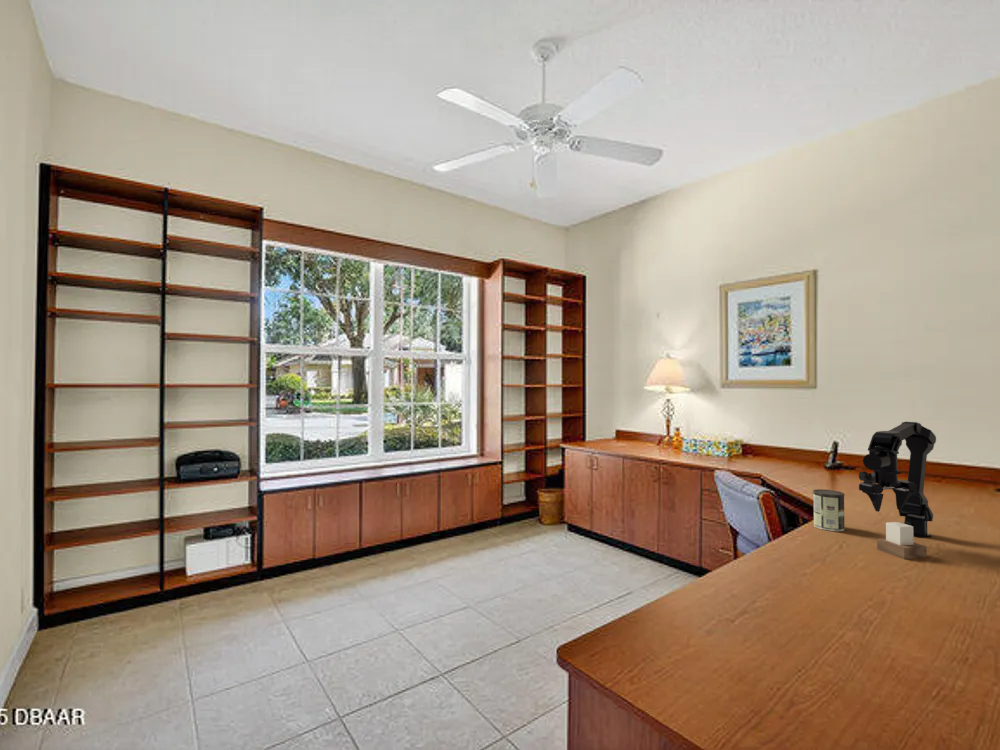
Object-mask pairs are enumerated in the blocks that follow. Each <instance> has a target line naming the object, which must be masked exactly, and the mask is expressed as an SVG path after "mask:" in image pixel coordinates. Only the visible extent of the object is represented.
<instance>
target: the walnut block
mask: <svg viewBox="0 0 1000 750" xmlns="http://www.w3.org/2000/svg"><path fill="white" fill-rule="evenodd" d="M876 544H877V547H876V549H877V551H879V552H883V553H884V554H885V553H886V554H889V555H891V556H894V557H896V558H900V559H903V560H912V559H922V558H923V559H924V558H927V546H926V545H924V544H920V543H918V542H915V541H913V545H898V544H896V543H893V542H890V541H887V540H886V537H885V538H877V539H876Z"/></svg>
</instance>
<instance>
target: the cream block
mask: <svg viewBox="0 0 1000 750" xmlns="http://www.w3.org/2000/svg"><path fill="white" fill-rule="evenodd" d="M885 538H886V540H887V541H890V542H893V543H896V544H898V545H913V542H914V536H913V526H910V525H907V524H904V523H903V522H900V521H894V522H893V521H891V522H890V521H889V522H888V521H887V522H885Z"/></svg>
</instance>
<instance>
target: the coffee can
mask: <svg viewBox="0 0 1000 750" xmlns="http://www.w3.org/2000/svg"><path fill="white" fill-rule="evenodd" d="M812 493H813V495H812V496H813V527H815V528H817V529H820V530H822V529H823V531H827V530H828V531H829V532H845V530H846V529H845V525H846V524H845V493H844V492H842V491H839V490H831V489H822V488H819V489H813V490H812ZM828 531H827V532H828Z"/></svg>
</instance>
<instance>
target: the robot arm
mask: <svg viewBox="0 0 1000 750" xmlns="http://www.w3.org/2000/svg"><path fill="white" fill-rule="evenodd" d="M903 441H905V446H906V448H907V449H908V451H909V454H910V455H909V463H908V474H907V480H903V479H899V478H898V475H901V474H902V471H901V470H898V469H899V467H898V455H899V454H900V452H899V449H900V447H902V445H903ZM936 442H937V437H936V435H935V433H934V432H933V431H932V430H931V429H929V428H927V427H925V426H923V425H922V424H921V423H920V422H917V421H904V422H901V423H900V424H899V425H896V426H894V427H893V428H892V429H890V430H879V431H878V430H877V431H876V432H874V434H872V436H871V440H870V442H869V445H868V448H867V451H868V454H865V455H864V456H863V459H862V463H863V466H865V468H866V469H868V470H870V471H873V472H870V473H868V471H866V470H865V471H859V472H858V478H859V480H860V481H863V482H860V483H859V484H858V490H859V491H861V492H862V493H864V494H866V495H867V496H868V498H869V499H870V501H871V504H872V505H873V506H872V507H873V508H874V511H875V512H880V510H881V507H882V503H883V498H884V495H885V494H884V493H883V492H884V491H885V490H892V491H893V493H894V495H895V504H896V508H897V510H898V514H899V516H900V517H903V518H904V521H903V522H904V524H907V525H910V526H913V537H917V538H925V537H926V538H927V537H932V534H931V533H930V534H929V533H928V522H933V519H934V513H933V512H932V510H931V508H930V506H929V500H928V498H927V497H926V495H925V494H924V488H925V479H926V477H925V476H926V467H927V460H928V459H927V458H928V455H929V454H930V453H931V452H932V451H933V450H934V447H935V444H936Z"/></svg>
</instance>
